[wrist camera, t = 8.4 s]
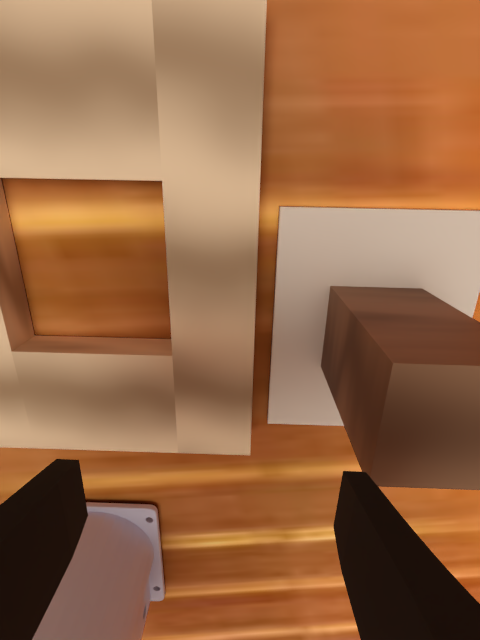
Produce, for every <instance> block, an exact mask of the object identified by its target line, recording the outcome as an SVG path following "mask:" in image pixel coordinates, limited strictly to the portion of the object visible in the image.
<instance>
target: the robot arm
mask: <svg viewBox="0 0 480 640" xmlns="http://www.w3.org/2000/svg"><path fill="white" fill-rule="evenodd" d="M150 517H151V518H150ZM334 532H335V537H336V543H337V549H338V555H339V560H340V565H341V570H342V574H343V577H344V581H345V585H346V588H347V592H348V595H349V599H350V603H351V606H352V610H353V613H354V617H355V620H356V624H357V627H358V631H359V634H360V638H361V640H480V604H479V603H478V602H477V601H476V600H475V599H474V598H473V597H472V596H471V595H470V593H469V592H468V591H467V590H466V589H465V588H464V587H463V586H462V585H461V584H460V583H459V582H458V581H457V579H456V578H455V577H454V576H453V575H452V574H451V573H450V572H449V571H448V570H447V569H446V567H445V566H444V565H443V564H442V563H441V562H440V561H439V560H438V558H437V557H436V556H435V555H434V554H433V553H432V552H431V550H430V549H429V548H428V547H427V546H426V545H425V543H424V542H423V541H422V540H421V539H420V538H419V536H418V535H417V534H416V533H415V532H414V531H413V529H412V528H411V527H410V526H409V525H408V523H407V522H406V521H405V520H404V519H403V517H402V516H401V515H400V514H399V512H398V511H397V510H396V509H395V507H394V506H393V505H392V504H391V503H390V501H389V500H388V499H387V497H386V496H385V495H384V494H383V492H382V491H381V490H380V489H379V487H378V486H377V485H376V484H375V482H374V481H373V480H372V479H371V477H370V476H369V475H368V474H367V473H366V472H351V471H343V476H342V482H341V487H340V493H339V498H338V504H337V510H336V515H335V521H334ZM164 596H165V584H164V573H163V562H162V551H161V541H160V530H159V519H158V510H157V508H156V507H155V506H154V505H151V504H124V503H96V502H86V500H85V494H84V488H83V482H82V476H81V470H80V464H79V460H65V459H56V460H55V461H54V462H52V463H51V464H50V465H49V466H47V467H46V468H45V469H44V470H42V471H41V472H40V473H39V474H38V475H36V476H35V477H34V478H33V479H32V480H30V481H29V482H28V483H27V484H26V485H24V486H23V487H22V488H21V489H19V490H18V491H17V492H16V493H15V494H13V495H12V496H11V497H10V498H9V499H7V500H6V501H5V502H4V503H2V504H1V505H0V640H141V638H142V634H143V630H144V626H145V622H146V617H147V613H148V609H149V605H150V601H162V600H163V599H164Z"/></svg>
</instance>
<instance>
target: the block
mask: <svg viewBox="0 0 480 640" xmlns="http://www.w3.org/2000/svg"><path fill="white" fill-rule="evenodd" d="M321 368H322V371H323V374H324V376H325V379H326V381H327V384H328V386H329V389H330V391H331V394H332V396H333V399H334V401H335V404H336V406H337V409H338V411H339V414H340V417H341V419H342V422H343V424H344V427H345V429H346V432H347V434H348V437H349V439H350V442H351V444H352V447H353V449H354V452H355V454H356V457H357V459H358V462H359V465H360V467H361V470H362V472H366V473H367V474H368V475H369V476H370V477H371V479H372V480H373V481H374V482H375V484H376V485H377V486H382V487H410V488H437V489H464V490H480V322H478V321H476V320H475V319H473V318H471V317H469V316H468V315H466V314H464V313H463V312H461V311H459V310H458V309H456V308H454V307H453V306H451V305H449V304H448V303H446V302H444V301H443V300H441V299H439V298H437V297H436V296H434V295H432V294H431V293H429V292H427V291H426V290H424V289H422V288H387V287H351V286H330V293H329V302H328V310H327V318H326V327H325V335H324V343H323V352H322V360H321Z"/></svg>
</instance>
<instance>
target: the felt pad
mask: <svg viewBox="0 0 480 640" xmlns="http://www.w3.org/2000/svg"><path fill="white" fill-rule="evenodd" d="M330 286H351V287H387V288H422V289H424V290H426V291H427V292H429V293H431V294H432V295H434V296H436V297H437V298H439V299H441V300H443V301H444V302H446V303H448V304H449V305H451V306H453V307H454V308H456V309H458V310H459V311H461V312H463V313H464V314H466V315H468V316H469V317H471V318H472V317H473V313H474V310H475V306H476V303H477V299H478V295H479V292H480V210H436V209H387V208H338V207H290V206H279V221H278V239H277V257H276V274H275V292H274V310H273V327H272V345H271V363H270V381H269V398H268V416H267V420H268V424H298V425H331V426H344V424H343V422H342V419H341V417H340V414H339V411H338V409H337V406H336V404H335V401H334V399H333V396H332V394H331V391H330V389H329V386H328V384H327V381H326V379H325V376H324V374H323V371H322V368H321V360H322V352H323V343H324V335H325V327H326V318H327V310H328V302H329V293H330Z"/></svg>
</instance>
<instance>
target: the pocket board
mask: <svg viewBox="0 0 480 640" xmlns="http://www.w3.org/2000/svg"><path fill="white" fill-rule="evenodd" d="M266 8H267V0H0V447H10V448H41V449H71V450H102V451H133V452H164V453H195V454H226V455H250V447H251V419H252V392H253V364H254V337H255V310H256V282H257V255H258V227H259V200H260V173H261V145H262V118H263V90H264V63H265V36H266ZM1 178H27V179H79V180H130V181H162V187H163V205H164V222H165V239H166V256H167V273H168V290H169V307H170V325H171V339H151V338H114V337H77V336H40V335H35V334H34V330H33V325H32V320H31V316H30V311H29V306H28V302H27V297H26V292H25V287H24V283H23V278H22V273H21V269H20V264H19V259H18V255H17V250H16V245H15V241H14V236H13V231H12V227H11V222H10V217H9V212H8V208H7V203H6V198H5V194H4V189H3V184H2V180H1Z"/></svg>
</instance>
